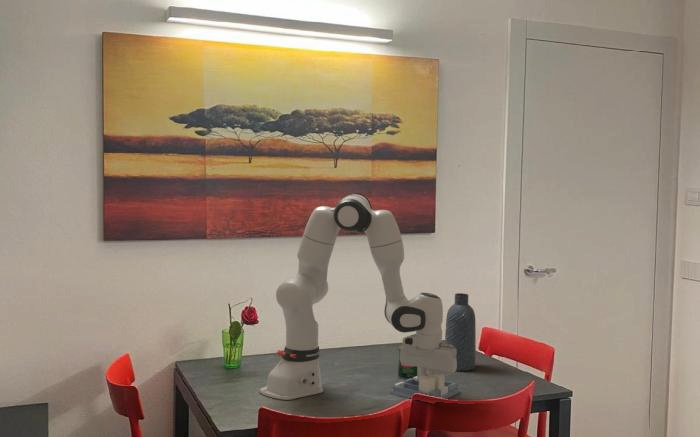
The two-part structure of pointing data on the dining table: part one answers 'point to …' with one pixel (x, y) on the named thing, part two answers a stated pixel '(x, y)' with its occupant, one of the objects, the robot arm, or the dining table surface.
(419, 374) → the far tab
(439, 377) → the middle tab
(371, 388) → the dining table surface
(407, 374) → the canned tomato
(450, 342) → the vase
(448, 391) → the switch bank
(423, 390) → the near tab
